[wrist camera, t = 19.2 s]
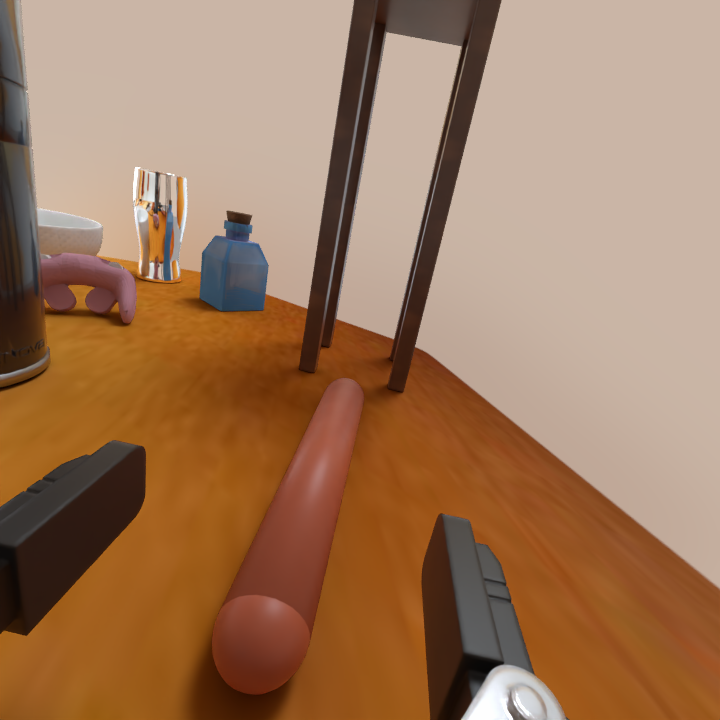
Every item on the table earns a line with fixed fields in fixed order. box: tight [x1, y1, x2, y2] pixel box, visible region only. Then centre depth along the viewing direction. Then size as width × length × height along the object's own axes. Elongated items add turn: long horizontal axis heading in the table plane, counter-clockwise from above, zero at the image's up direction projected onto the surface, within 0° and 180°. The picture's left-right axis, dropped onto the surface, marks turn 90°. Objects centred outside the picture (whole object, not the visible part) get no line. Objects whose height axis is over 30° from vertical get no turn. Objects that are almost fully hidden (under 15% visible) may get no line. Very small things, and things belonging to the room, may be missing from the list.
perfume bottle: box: [200, 211, 268, 311], centre depth 52 cm, size 6×6×12 cm
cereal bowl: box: [37, 208, 103, 256], centre depth 50 cm, size 17×17×7 cm
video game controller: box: [41, 253, 137, 324], centre depth 39 cm, size 10×5×7 cm, turn 115°
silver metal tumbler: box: [133, 167, 187, 283], centre depth 58 cm, size 7×7×15 cm
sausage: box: [212, 378, 364, 695], centre depth 21 cm, size 21×3×3 cm, turn 174°
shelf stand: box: [299, 0, 501, 392], centre depth 36 cm, size 10×10×33 cm
